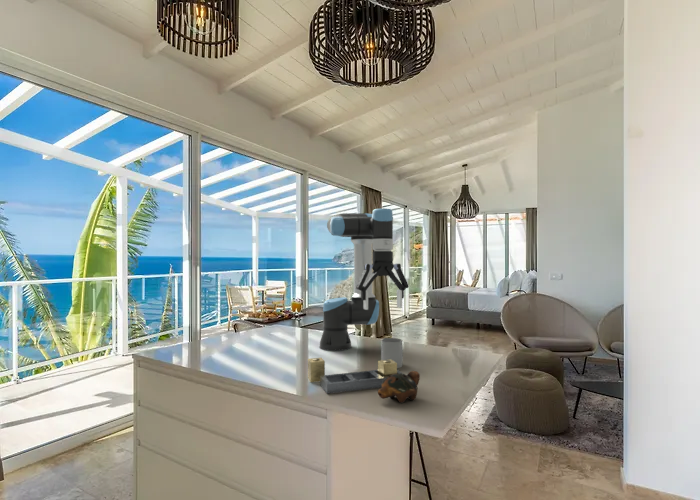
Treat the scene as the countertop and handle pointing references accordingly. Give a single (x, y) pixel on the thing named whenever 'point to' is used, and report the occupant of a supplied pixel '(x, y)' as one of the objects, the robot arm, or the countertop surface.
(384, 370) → the beige framed knobbed block
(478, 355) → the countertop surface
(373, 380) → the rack
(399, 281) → the robot arm
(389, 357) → the cup
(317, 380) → the cube with silver knob
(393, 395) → the decorative turtle
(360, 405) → the countertop surface
